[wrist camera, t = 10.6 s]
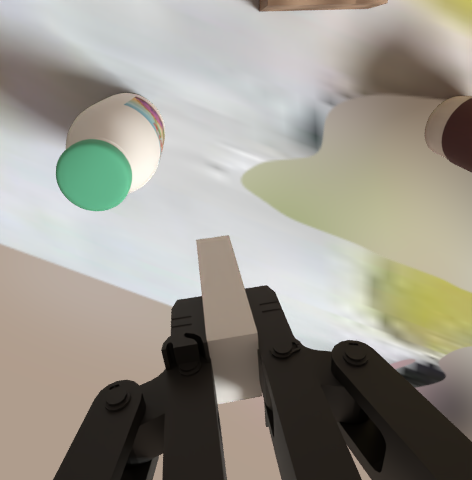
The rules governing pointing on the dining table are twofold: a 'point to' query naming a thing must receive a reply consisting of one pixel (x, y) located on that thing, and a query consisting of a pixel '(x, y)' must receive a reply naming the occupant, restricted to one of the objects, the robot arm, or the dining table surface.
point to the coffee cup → (452, 131)
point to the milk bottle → (110, 151)
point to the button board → (317, 4)
